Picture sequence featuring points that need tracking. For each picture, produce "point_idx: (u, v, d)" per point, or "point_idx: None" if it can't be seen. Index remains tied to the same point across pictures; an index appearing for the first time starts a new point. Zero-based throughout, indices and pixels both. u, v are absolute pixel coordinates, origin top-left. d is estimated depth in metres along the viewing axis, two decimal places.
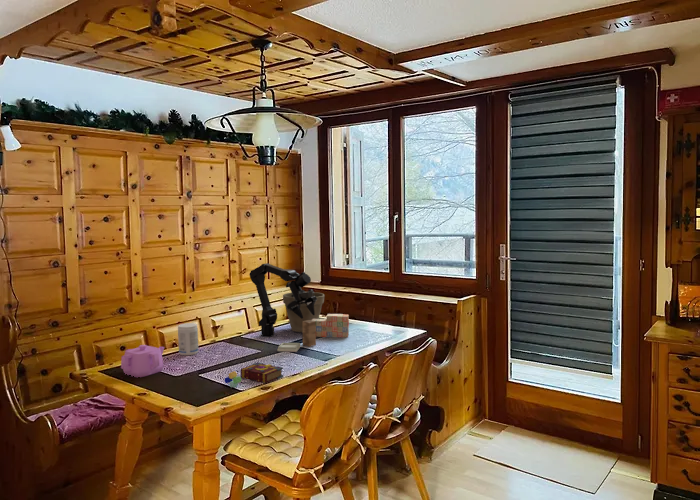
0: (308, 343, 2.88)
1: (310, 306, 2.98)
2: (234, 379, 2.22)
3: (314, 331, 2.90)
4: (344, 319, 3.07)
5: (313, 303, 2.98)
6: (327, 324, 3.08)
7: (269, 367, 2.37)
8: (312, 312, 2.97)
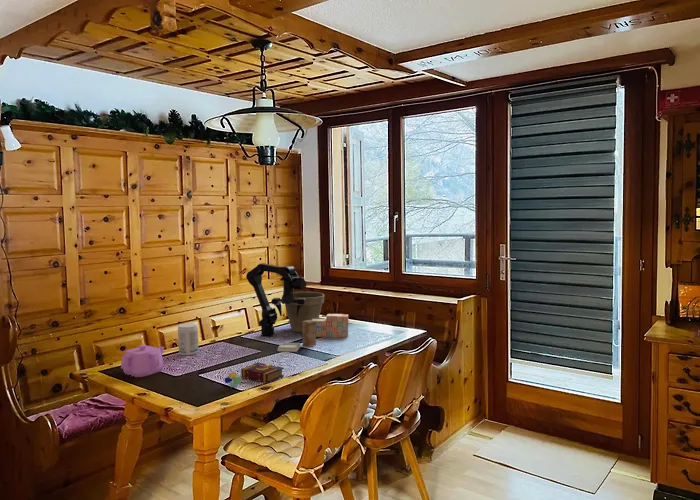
0: (308, 343, 2.88)
1: None
2: (234, 379, 2.22)
3: (314, 331, 2.90)
4: (344, 319, 3.07)
5: (298, 306, 3.00)
6: (327, 324, 3.08)
7: (270, 367, 2.37)
8: None
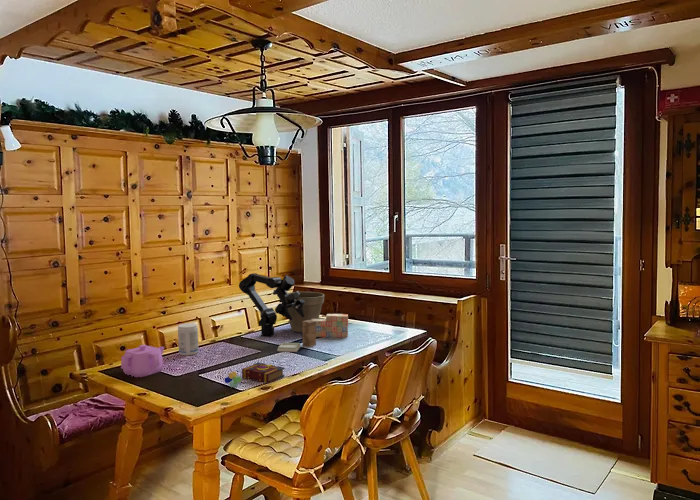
0: (308, 343, 2.88)
1: (299, 309, 3.01)
2: (234, 379, 2.22)
3: (314, 331, 2.90)
4: (344, 319, 3.08)
5: (301, 305, 3.01)
6: (326, 324, 3.08)
7: (270, 367, 2.37)
8: (301, 314, 2.99)
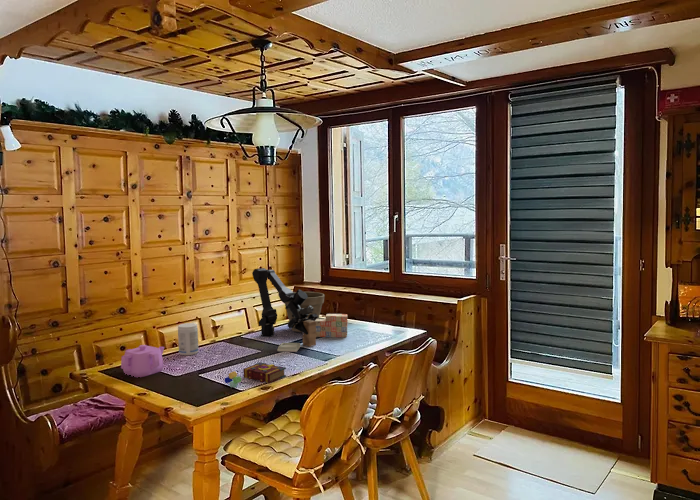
0: (308, 343, 2.88)
1: None
2: (234, 379, 2.22)
3: (314, 331, 2.90)
4: (343, 319, 3.08)
5: None
6: (326, 324, 3.08)
7: (272, 367, 2.38)
8: None
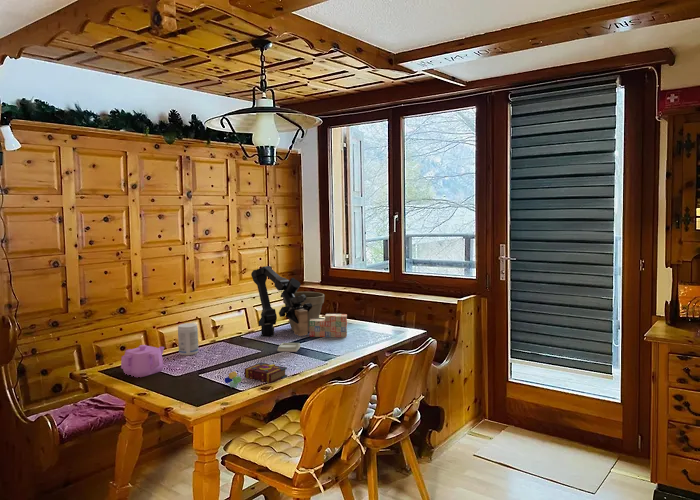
0: (299, 332, 2.83)
1: None
2: (234, 379, 2.22)
3: (305, 320, 2.85)
4: (343, 319, 3.08)
5: None
6: (325, 324, 3.08)
7: (273, 367, 2.38)
8: None
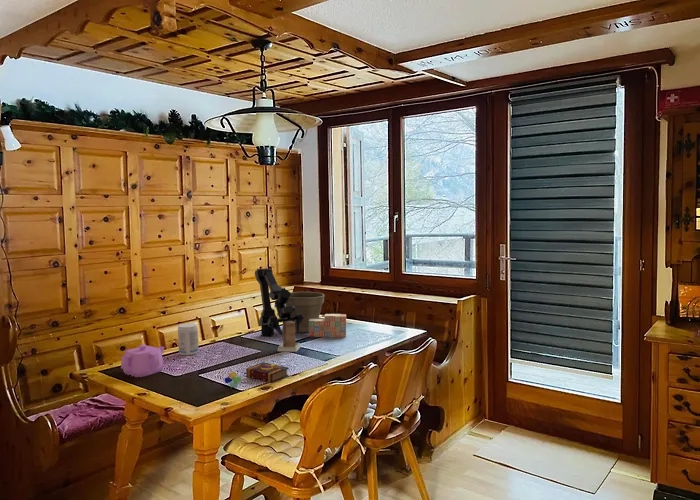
0: (285, 344, 2.80)
1: (295, 324, 2.86)
2: (234, 379, 2.22)
3: (293, 333, 2.81)
4: (342, 319, 3.08)
5: (298, 320, 2.86)
6: (324, 324, 3.08)
7: (274, 367, 2.38)
8: (296, 329, 2.84)
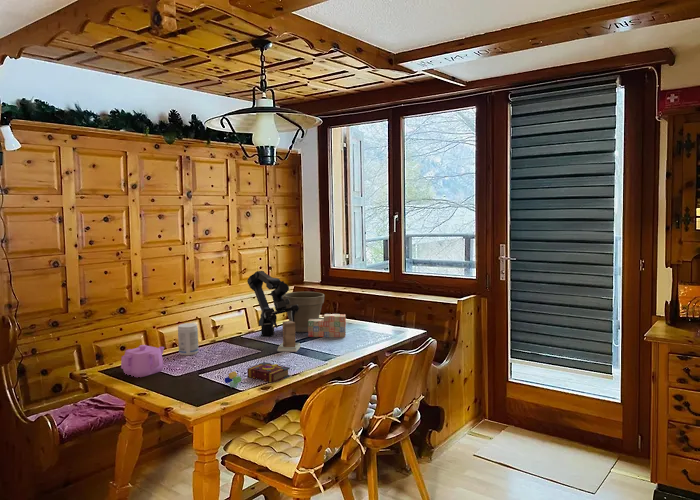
0: (285, 344, 2.80)
1: (291, 315, 2.96)
2: (234, 379, 2.22)
3: (293, 333, 2.81)
4: (342, 319, 3.07)
5: (293, 312, 2.94)
6: (324, 324, 3.08)
7: (276, 367, 2.38)
8: None
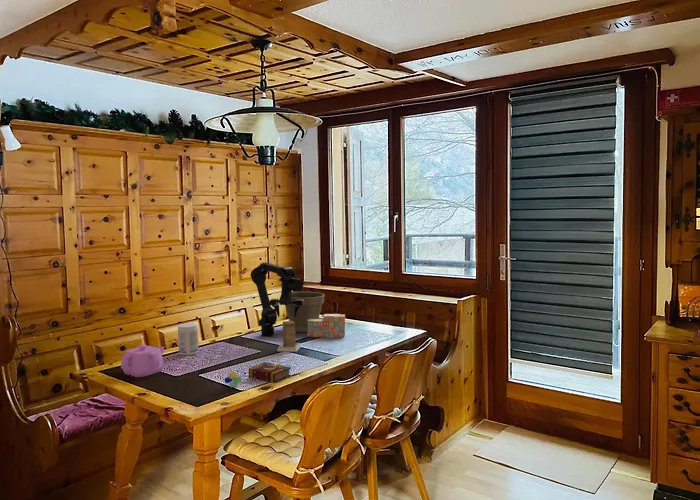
0: (285, 344, 2.80)
1: None
2: (234, 379, 2.22)
3: (293, 333, 2.81)
4: (341, 319, 3.07)
5: (296, 307, 2.96)
6: (323, 324, 3.08)
7: (277, 367, 2.38)
8: None
